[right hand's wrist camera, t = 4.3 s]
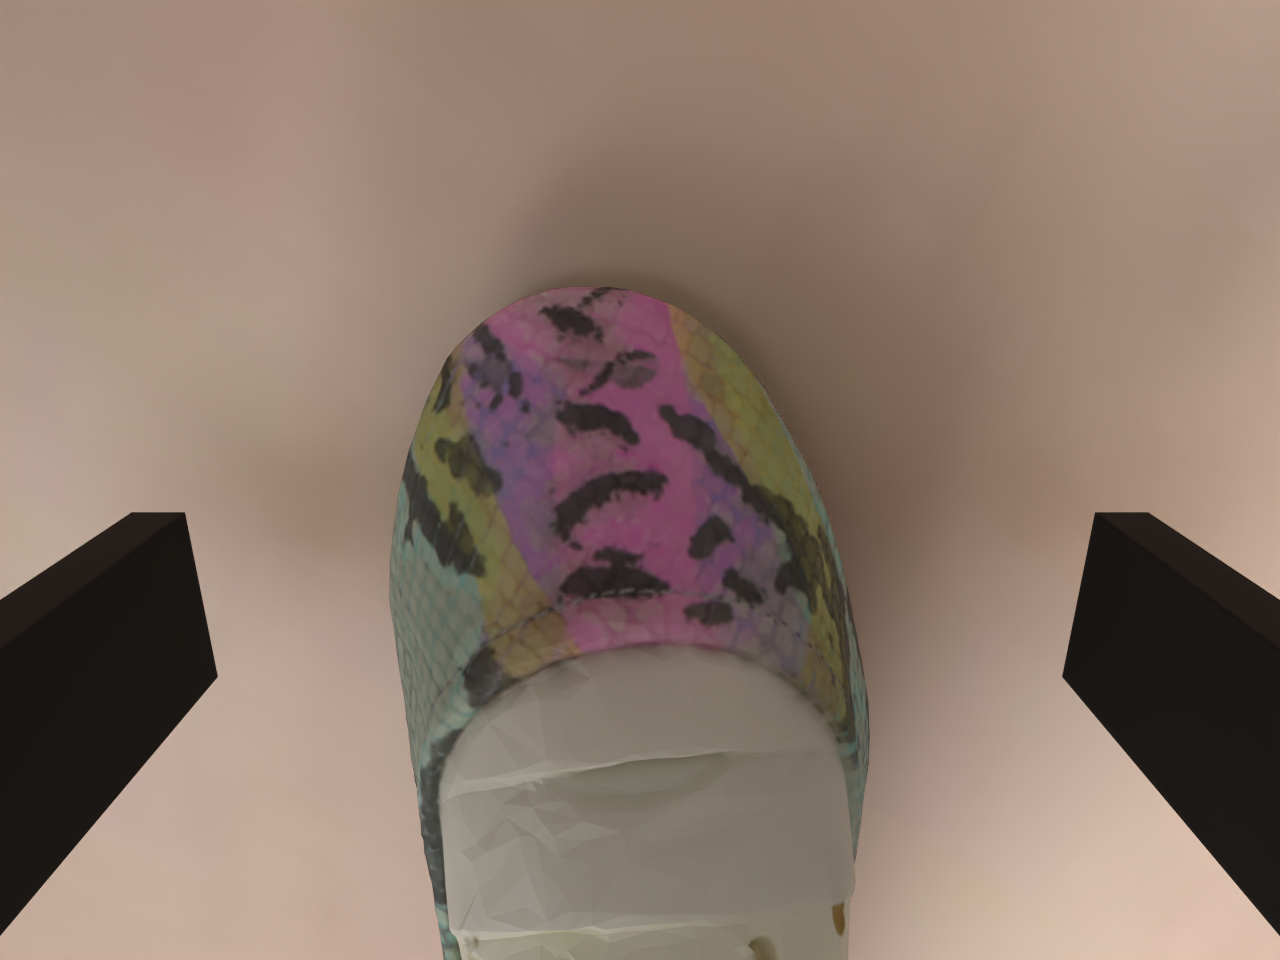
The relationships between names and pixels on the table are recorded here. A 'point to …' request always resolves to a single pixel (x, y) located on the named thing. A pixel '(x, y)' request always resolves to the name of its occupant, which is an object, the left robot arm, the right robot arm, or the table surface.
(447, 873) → the ballet flat
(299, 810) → the table surface
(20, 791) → the right robot arm
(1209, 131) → the table surface
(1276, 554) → the table surface
